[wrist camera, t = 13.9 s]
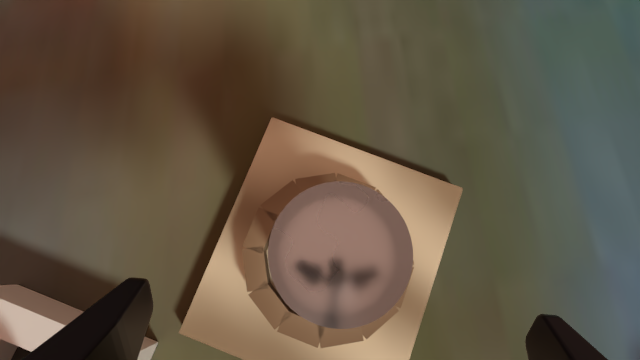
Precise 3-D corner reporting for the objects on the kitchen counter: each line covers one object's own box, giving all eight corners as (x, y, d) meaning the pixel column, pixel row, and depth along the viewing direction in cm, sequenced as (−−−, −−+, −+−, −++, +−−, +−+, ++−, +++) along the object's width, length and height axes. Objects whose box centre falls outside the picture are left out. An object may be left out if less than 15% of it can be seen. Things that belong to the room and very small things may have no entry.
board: (386, 412, 21) (396, 431, 18) (184, 330, 21) (168, 338, 19) (456, 191, 23) (473, 182, 21) (273, 123, 24) (269, 106, 21)
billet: (365, 303, 21) (413, 332, 11) (284, 299, 21) (262, 325, 11) (367, 223, 22) (413, 184, 12) (290, 219, 22) (273, 177, 12)
